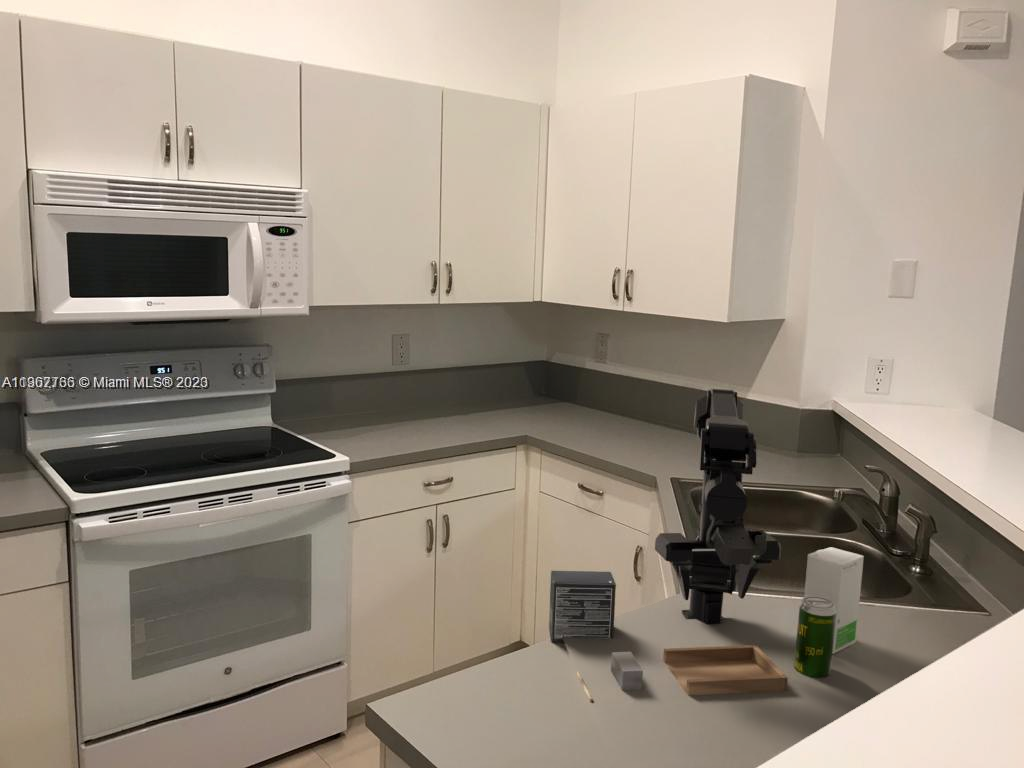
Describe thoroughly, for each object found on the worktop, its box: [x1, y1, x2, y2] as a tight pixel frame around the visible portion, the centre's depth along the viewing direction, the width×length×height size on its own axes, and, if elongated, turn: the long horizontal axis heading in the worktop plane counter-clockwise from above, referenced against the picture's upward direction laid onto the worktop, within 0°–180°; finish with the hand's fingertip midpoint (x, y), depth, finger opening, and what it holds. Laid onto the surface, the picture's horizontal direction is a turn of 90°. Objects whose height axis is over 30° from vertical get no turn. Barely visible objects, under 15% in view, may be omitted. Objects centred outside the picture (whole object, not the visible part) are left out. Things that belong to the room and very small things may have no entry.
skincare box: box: [803, 546, 865, 655], centre depth 143 cm, size 8×7×16 cm
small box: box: [548, 570, 617, 644], centre depth 142 cm, size 11×6×10 cm, turn 92°
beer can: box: [793, 596, 836, 679], centre depth 131 cm, size 5×5×12 cm
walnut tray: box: [662, 644, 789, 696], centre depth 129 cm, size 11×15×3 cm
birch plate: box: [576, 651, 644, 703], centre depth 126 cm, size 8×13×4 cm, turn 99°
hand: (713, 598), depth 133 cm, fingers open, 9 cm apart
